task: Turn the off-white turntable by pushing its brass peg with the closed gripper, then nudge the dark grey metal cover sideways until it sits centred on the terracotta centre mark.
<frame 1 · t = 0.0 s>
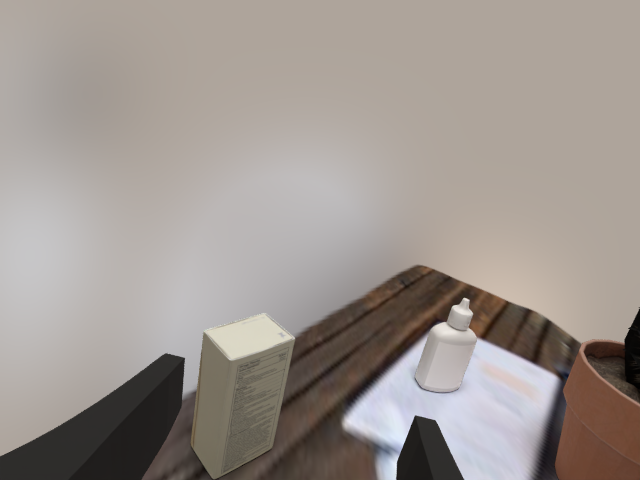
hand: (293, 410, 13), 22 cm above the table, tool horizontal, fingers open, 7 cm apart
eye dropper bottle: (435, 385, 52), on the table
skincare box: (231, 450, 37), on the table
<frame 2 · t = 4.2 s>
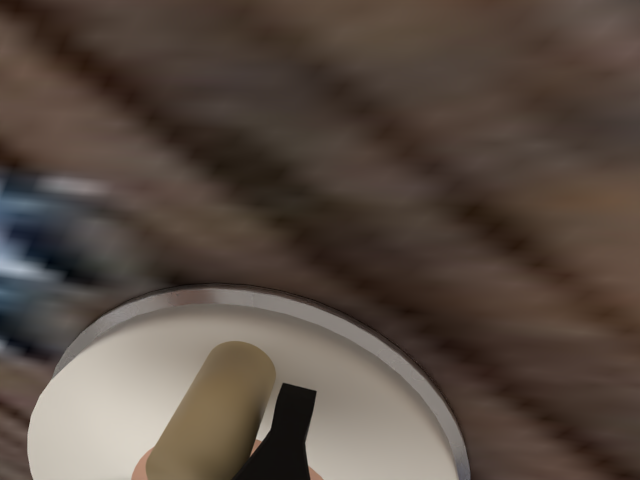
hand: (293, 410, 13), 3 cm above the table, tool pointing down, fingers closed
turntable base: (251, 466, 19), on the table
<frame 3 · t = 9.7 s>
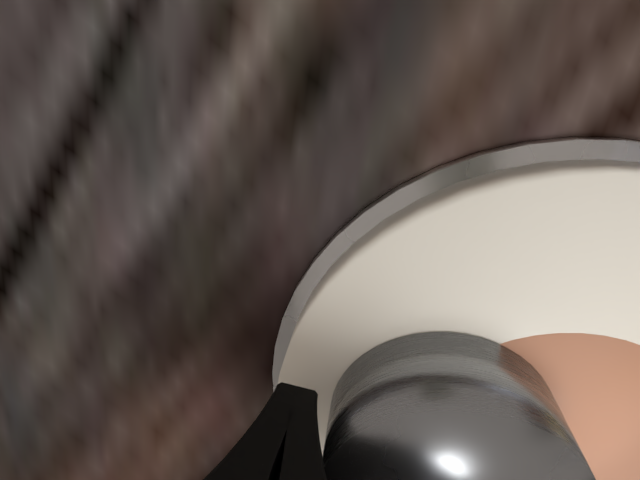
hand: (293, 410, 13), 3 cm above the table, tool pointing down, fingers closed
cover: (438, 423, 13), point 2 cm above the table, touching gripper
turntable base: (528, 399, 15), on the table
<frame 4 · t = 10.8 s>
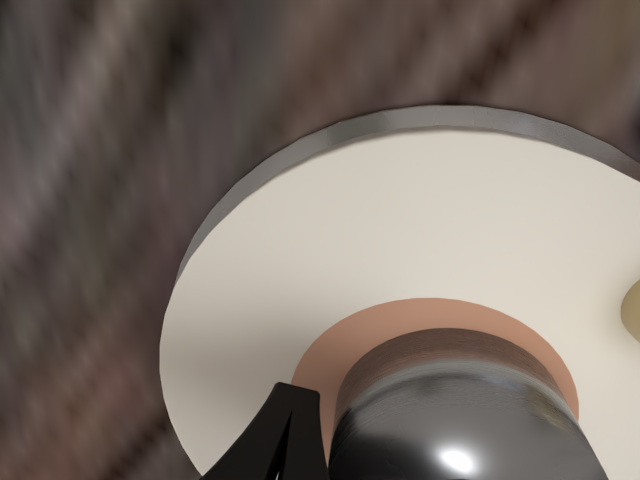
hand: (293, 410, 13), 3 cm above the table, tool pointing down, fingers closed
cover: (444, 419, 13), point 2 cm above the table, touching gripper, turntable
turntable base: (419, 372, 15), on the table
turntable: (429, 450, 12), point 3 cm above the table, hinge at 50.1°, touching cover
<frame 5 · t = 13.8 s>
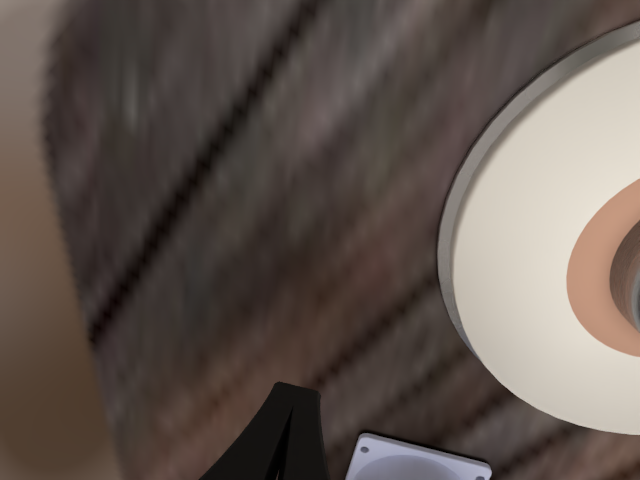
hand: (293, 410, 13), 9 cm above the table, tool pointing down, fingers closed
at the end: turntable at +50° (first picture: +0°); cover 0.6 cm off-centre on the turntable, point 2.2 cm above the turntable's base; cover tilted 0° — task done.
